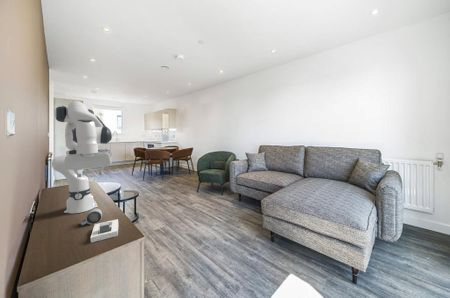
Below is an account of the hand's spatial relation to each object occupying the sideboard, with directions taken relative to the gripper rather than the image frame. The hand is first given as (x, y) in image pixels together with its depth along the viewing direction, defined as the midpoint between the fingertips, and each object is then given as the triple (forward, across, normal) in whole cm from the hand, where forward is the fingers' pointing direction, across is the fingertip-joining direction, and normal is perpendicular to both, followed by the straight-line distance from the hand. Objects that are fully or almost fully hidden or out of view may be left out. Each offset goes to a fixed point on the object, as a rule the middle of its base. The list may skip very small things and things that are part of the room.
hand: (90, 176), depth 100 cm
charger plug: (+29, -6, +12) cm, 32 cm away
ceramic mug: (+29, +2, -10) cm, 31 cm away
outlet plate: (+29, -6, +8) cm, 31 cm away
